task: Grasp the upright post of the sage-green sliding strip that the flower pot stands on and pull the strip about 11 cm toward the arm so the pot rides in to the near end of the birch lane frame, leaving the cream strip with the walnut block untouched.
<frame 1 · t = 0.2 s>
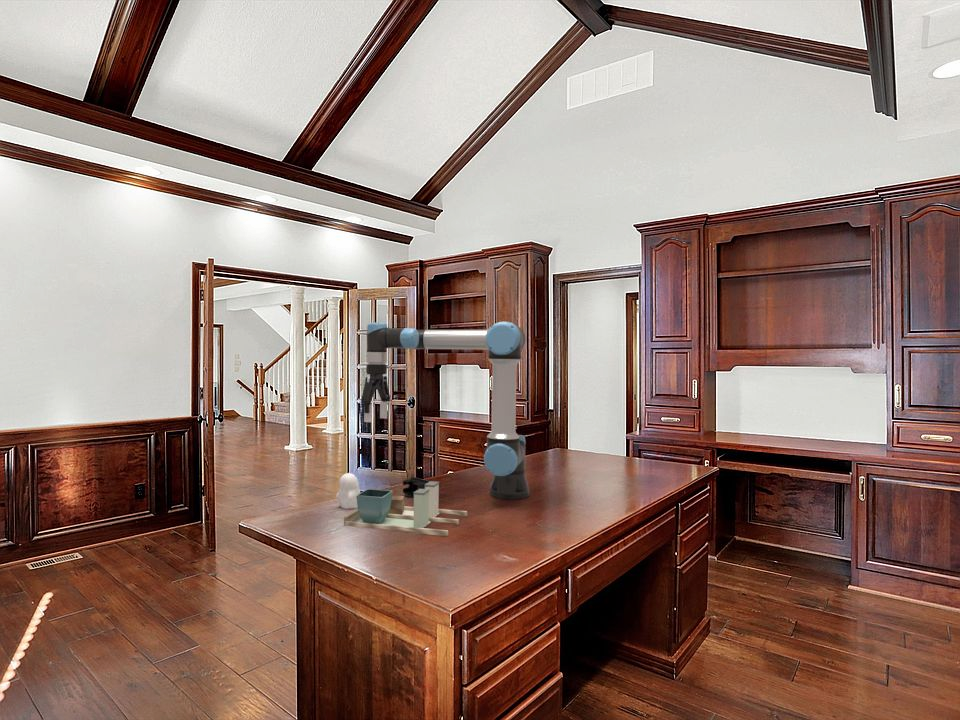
hand: (375, 420, 211), 28 cm above the table, fingers open, 13 cm apart
flower pot: (374, 522, 174), resting on sage strip
lane frame: (409, 521, 176), on the table
sage strip: (392, 506, 172), point 6 cm above the table, slide at 0.3 cm, touching flower pot
cream strip: (404, 498, 183), point 6 cm above the table, slide at 0.0 cm, touching walnut block
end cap: (417, 497, 207), on the table
figurine: (349, 508, 191), on the table
walnut block: (395, 513, 184), resting on cream strip
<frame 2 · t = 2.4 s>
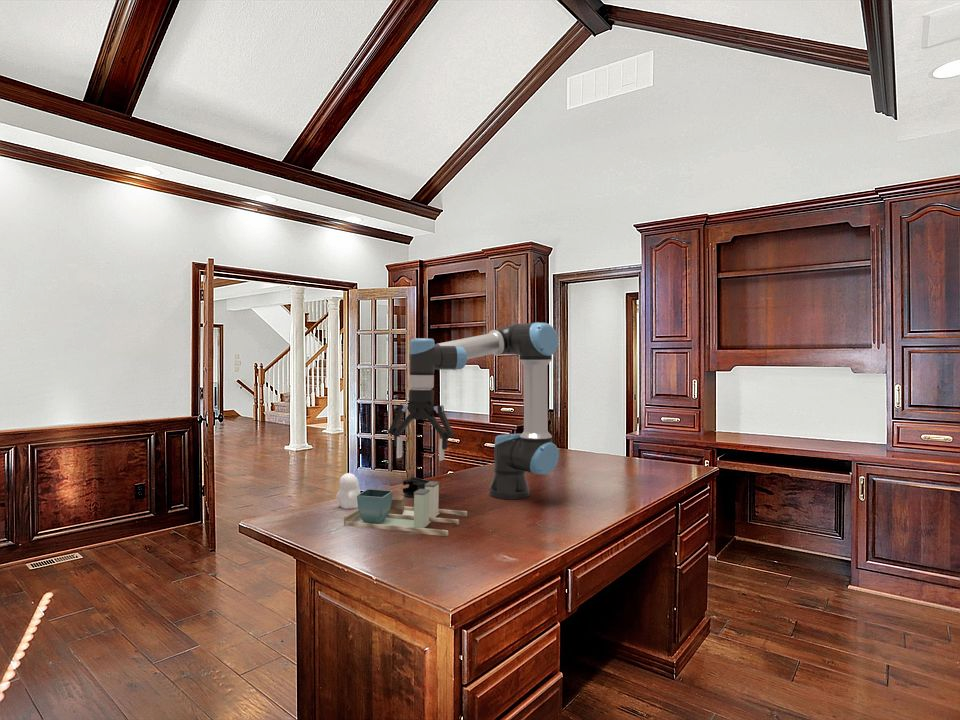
hand: (420, 458, 170), 21 cm above the table, fingers open, 13 cm apart
nothing on the table moved.
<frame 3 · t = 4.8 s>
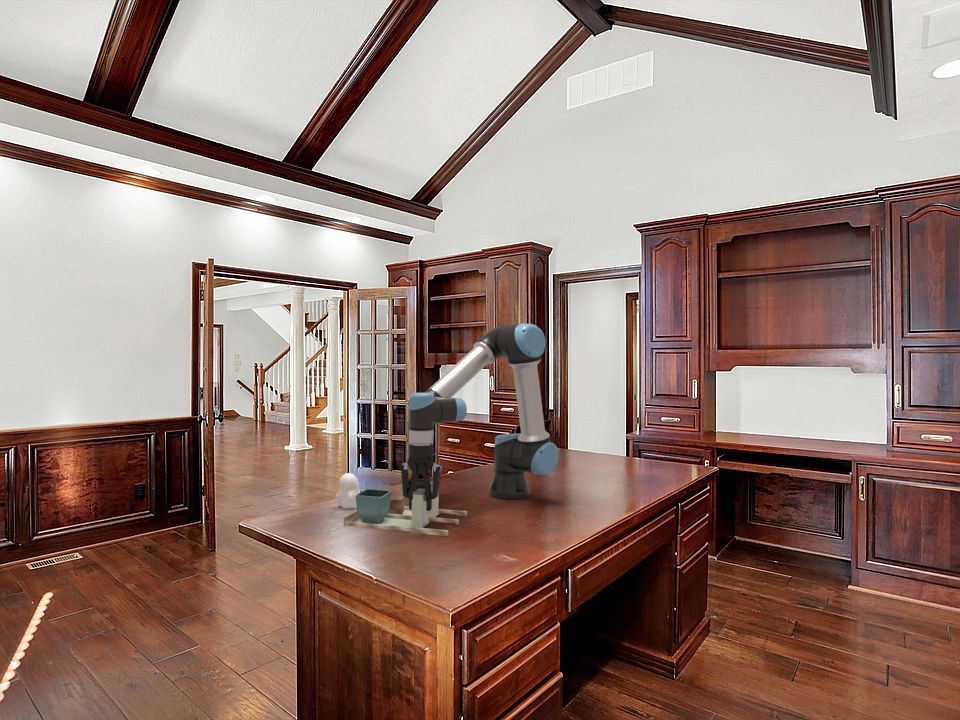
hand: (420, 520, 170), 2 cm above the table, fingers closed on sage strip, 3 cm apart
sage strip: (391, 506, 172), point 6 cm above the table, slide at 0.0 cm, touching flower pot, gripper
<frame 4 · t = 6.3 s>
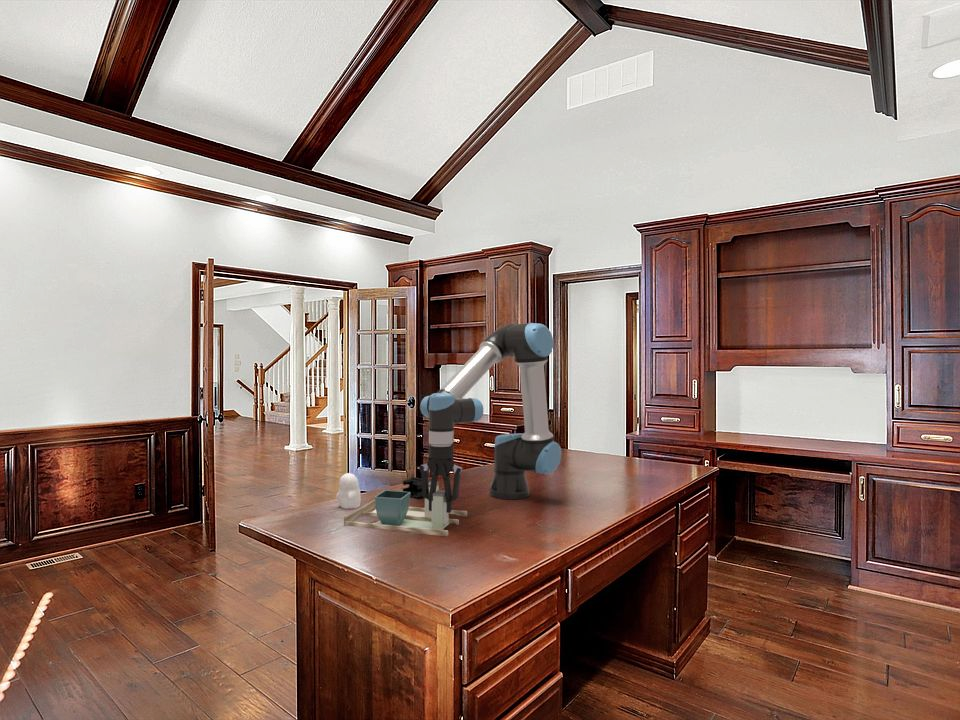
hand: (440, 522, 169), 2 cm above the table, fingers closed on sage strip, 3 cm apart
flower pot: (392, 523, 172), resting on sage strip
sage strip: (410, 508, 171), point 6 cm above the table, slide at 6.3 cm, touching flower pot, gripper
everything else where it was.
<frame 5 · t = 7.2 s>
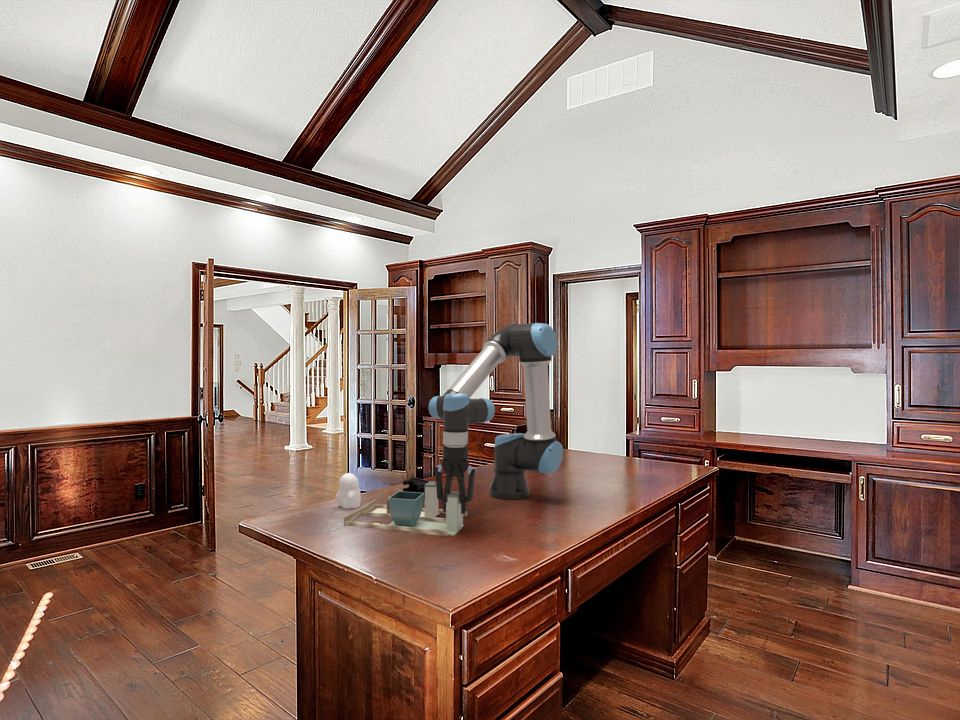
hand: (454, 523, 168), 2 cm above the table, fingers closed on sage strip, 3 cm apart
flower pot: (406, 525, 171), resting on sage strip
sage strip: (424, 509, 170), point 6 cm above the table, slide at 10.9 cm, touching flower pot, gripper
everything else where it was.
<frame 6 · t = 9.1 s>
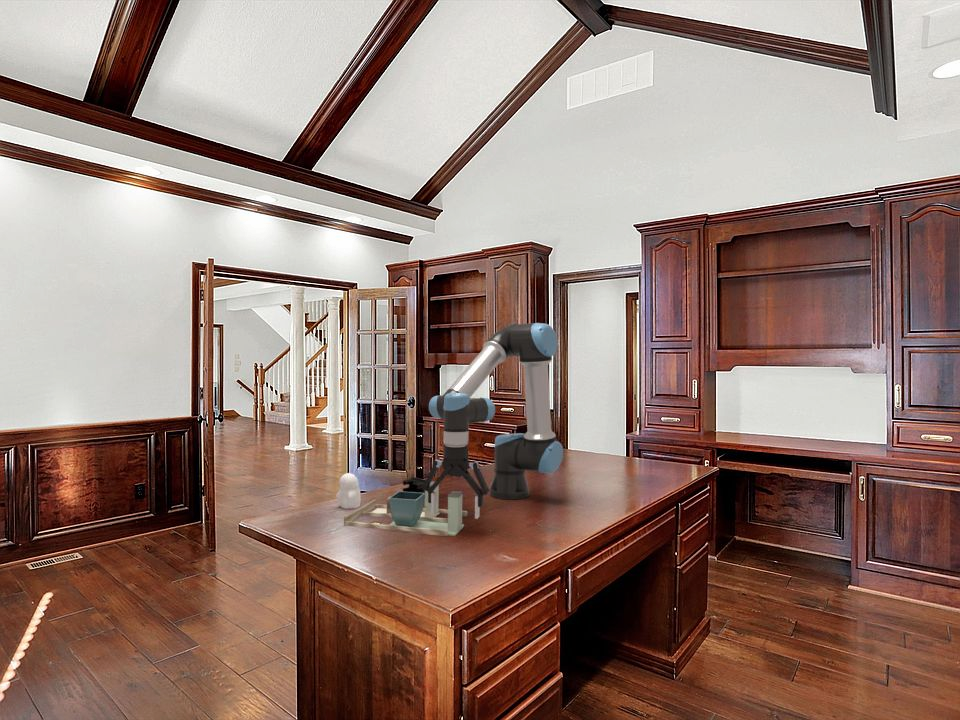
hand: (455, 515, 168), 4 cm above the table, fingers open, 13 cm apart
sage strip: (425, 509, 170), point 6 cm above the table, slide at 11.0 cm, touching flower pot
everything else where it was.
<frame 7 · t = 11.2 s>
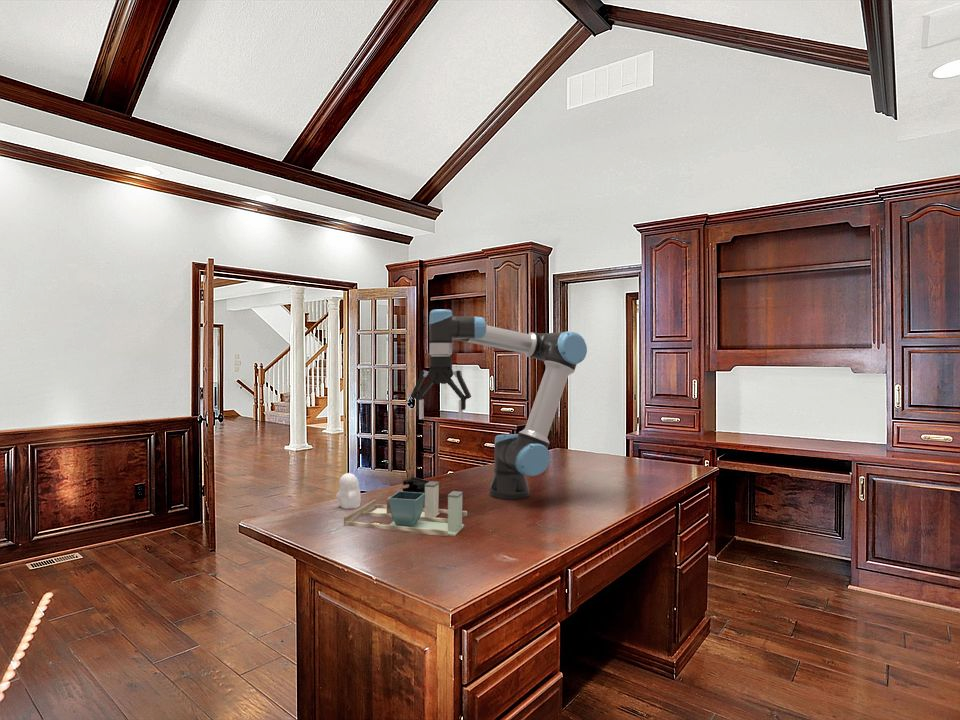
hand: (440, 419, 187), 31 cm above the table, fingers open, 13 cm apart
nothing on the table moved.
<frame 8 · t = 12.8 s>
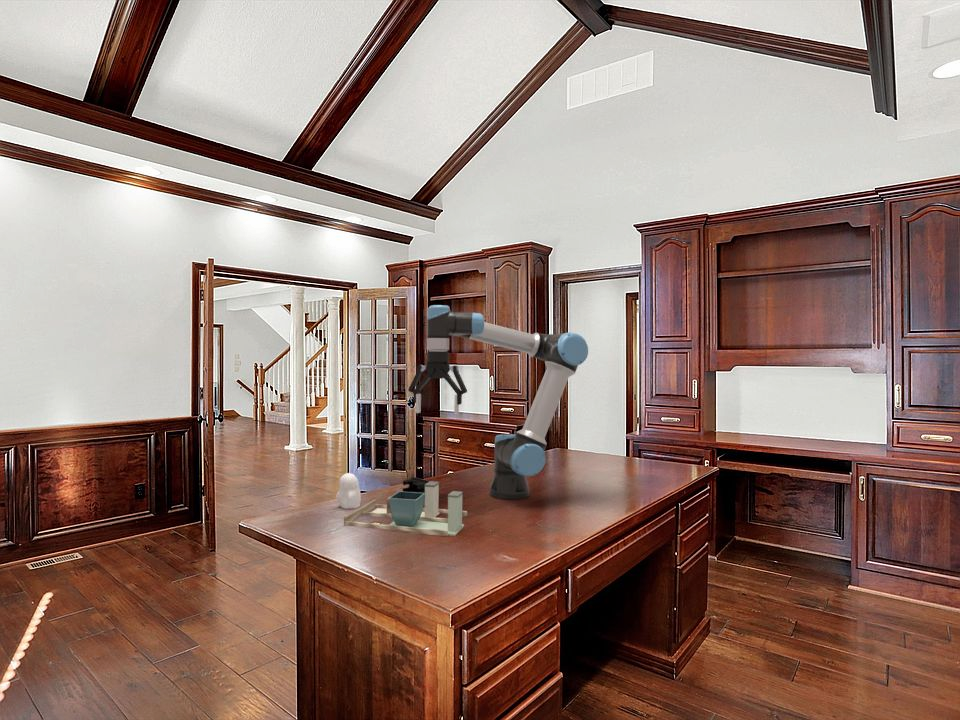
hand: (437, 413, 190), 33 cm above the table, fingers open, 13 cm apart
nothing on the table moved.
at the end: flower pot inside the target area (0.3 cm from its centre), resting on sage strip; sage strip slide at 11.0 cm; flower pot tilted 0° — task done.
